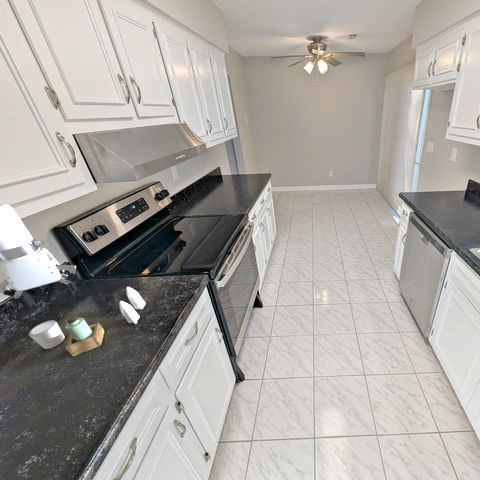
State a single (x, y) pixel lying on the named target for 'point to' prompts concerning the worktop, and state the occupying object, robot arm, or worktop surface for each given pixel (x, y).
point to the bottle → (78, 328)
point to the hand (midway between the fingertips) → (53, 298)
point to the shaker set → (128, 309)
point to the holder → (86, 341)
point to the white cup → (47, 334)
